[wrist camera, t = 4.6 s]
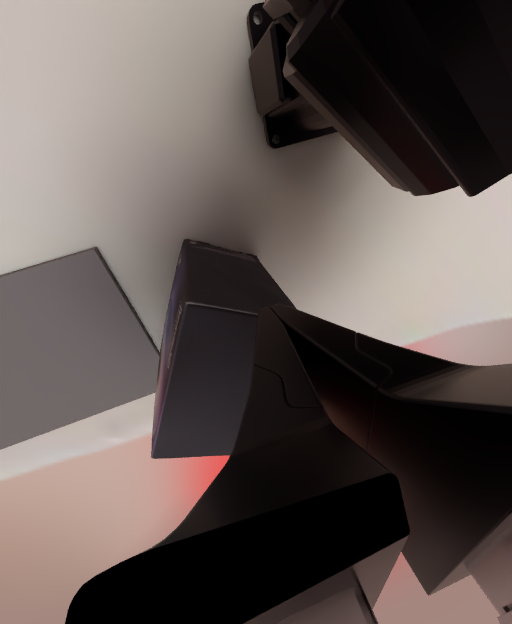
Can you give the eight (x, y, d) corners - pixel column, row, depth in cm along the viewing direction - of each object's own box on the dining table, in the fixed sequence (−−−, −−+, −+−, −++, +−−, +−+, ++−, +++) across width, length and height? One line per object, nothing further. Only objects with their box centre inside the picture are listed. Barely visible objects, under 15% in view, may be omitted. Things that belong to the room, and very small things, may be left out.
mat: (95, 247, 17) (93, 249, 17) (176, 380, 25) (176, 384, 24) (-201, 335, 15) (-211, 340, 15) (-15, 451, 23) (-18, 456, 22)
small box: (178, 234, 18) (179, 297, 10) (259, 255, 21) (319, 320, 12) (157, 349, 23) (144, 465, 14) (226, 355, 25) (252, 457, 16)
